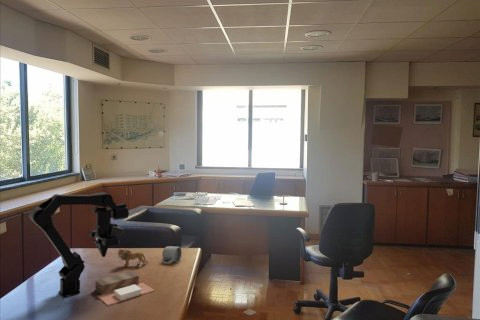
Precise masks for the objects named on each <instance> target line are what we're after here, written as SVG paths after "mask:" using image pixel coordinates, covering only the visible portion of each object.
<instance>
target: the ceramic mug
mask: <svg viewBox="0 0 480 320" xmlns="http://www.w3.org/2000/svg"><path fill="white" fill-rule="evenodd" d="M182 253H183V251H182V248H181V247H180V246H171V245H170V246H168V245H167V246H165V247H164V249H163V250H162V254H161V255H162V258H161V260H162V262H161V263H162V264H164V265H170V264H172V263H174V262H175V263H176V262H177V263H179V262H180V261H181V258H182Z"/></svg>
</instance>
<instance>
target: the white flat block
mask: <svg viewBox="0 0 480 320" xmlns="http://www.w3.org/2000/svg"><path fill="white" fill-rule="evenodd" d="M139 294H142V289H141V288H140V287H138V286H137V285H135V284H134V285H131V286H127V287H124V288H120V289H117V290H114V295H115V296H116V297H117V298H118V299H120V300H123V299H126V298H129V297H133V296H136V295H139Z"/></svg>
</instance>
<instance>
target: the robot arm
mask: <svg viewBox="0 0 480 320" xmlns="http://www.w3.org/2000/svg"><path fill="white" fill-rule="evenodd" d="M66 205H68V206H70V205H75V206H76V205H79V206H80V205H92V206H94V207H93V209H91V212H92V213H94V214H96V223H94V227H96V229H93V230H90V231H89V232H88V238H90V239H93V238H94V237H95V240H93V243H94V244H95V245H96V247H97V249H98V251H99V254H100V255H101V257H102V258H105V257H106V256H107V252H108V248H109V247H110V246H116V245H119V244H120V238H119V237H122V236H123V233H124V230H125V229H124V228H123V227H119V226H118V224H116V223H111V220H114V221H117V220H124V219H128V218H129V215H130V212H129V208H128V207H127V204H126V203H120V204H116V202H115V201H114V198H113V196H112V195H111V194H110V193H107V192H104V191H103V192H102V191H99V192H95V193H91V194H90V193H89V194H59V193H56V194H52V196H51V197H50V198H48V199H47V200H45V201H44V202H42V203H40V204H39V205H38V206H35V207H33V208H32V209H30V211H29V213H28V217H29V219H30V220H31V222H32V223H34V224H35V225H36V226H38V228H39V229H41V231H43V233H44V234H45V235H46V237H47V239H48V240H49V241H50V243H51V244H52V246H53V247H54V249H55V250H56V251H57V253H58V254H59V256H60V257H61V261H62V264H63V267H62V268H60V269H59V271H58V275H59V276H60V277H61V278H60V279H59V290H58V294H59V295H61V296H62V298H66V297H70V296H73V295H78V294H80V293H81V291H80V290H81V279H80V278H81V275H82V273H83V271H84V270H85V263H86V262H85V261H84V260H83V259H82V257H81V254H79V253H78V252H76V251H73V252H72V250H70V248H69V246H68V244H67V243H66V242H65V240H64V238H63V237H62V236H61V235H60V233H59V232H58V231H57V229H56V227H55V226H54V221H53V218H52V216H53V215H54V214H55V212H56V211H58V209H59V208H60V207H61V206H66ZM117 236H119V237H117Z"/></svg>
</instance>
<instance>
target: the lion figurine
mask: <svg viewBox="0 0 480 320" xmlns="http://www.w3.org/2000/svg"><path fill="white" fill-rule="evenodd" d="M145 256H146V255H145V254H144V253H143V252H142V251H135V252H131V251H130V250H128V249H126V248H120V249H119V250H117V257H118V258H119V259H121V260H122V261H125V263H124V265H125V267H127V268H128V267H129V266H130V264H129V262H130V261H133V260H136V259H138V262H136V264H137V265H138V264H139V265H140V264H141V263H142V264H141V265H142V266H145V264H149V262H148V261H147V260H146V257H145Z"/></svg>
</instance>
